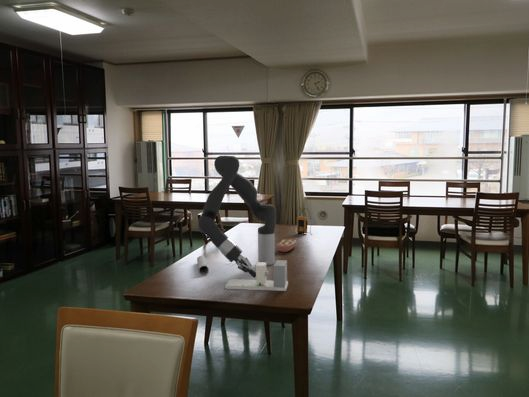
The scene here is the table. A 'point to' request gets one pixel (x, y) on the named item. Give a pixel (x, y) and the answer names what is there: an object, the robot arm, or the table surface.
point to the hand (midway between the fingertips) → (255, 276)
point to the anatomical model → (286, 245)
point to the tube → (202, 265)
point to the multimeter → (302, 223)
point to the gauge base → (277, 285)
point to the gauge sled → (261, 273)
